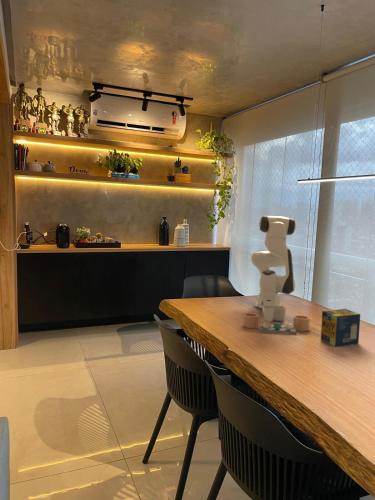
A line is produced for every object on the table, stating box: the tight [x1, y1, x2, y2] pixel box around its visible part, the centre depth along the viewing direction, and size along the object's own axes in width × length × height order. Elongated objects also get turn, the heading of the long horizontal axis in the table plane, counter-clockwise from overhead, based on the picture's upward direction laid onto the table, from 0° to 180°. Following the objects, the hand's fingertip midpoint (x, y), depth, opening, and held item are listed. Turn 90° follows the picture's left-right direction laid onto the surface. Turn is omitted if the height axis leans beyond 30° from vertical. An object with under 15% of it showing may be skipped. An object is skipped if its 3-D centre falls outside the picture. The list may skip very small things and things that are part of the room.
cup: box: [272, 305, 287, 322], centre depth 226 cm, size 11×8×8 cm
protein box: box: [320, 308, 361, 348], centre depth 188 cm, size 10×15×16 cm
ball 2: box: [284, 322, 293, 330], centre depth 203 cm, size 4×4×4 cm
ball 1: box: [273, 321, 282, 330], centre depth 204 cm, size 4×4×4 cm
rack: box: [258, 325, 297, 335], centre depth 204 cm, size 19×8×2 cm, turn 83°
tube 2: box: [292, 314, 311, 332], centre depth 209 cm, size 9×9×7 cm
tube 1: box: [242, 312, 260, 329], centre depth 213 cm, size 9×9×7 cm
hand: (266, 324), depth 204 cm, fingers open, 8 cm apart
